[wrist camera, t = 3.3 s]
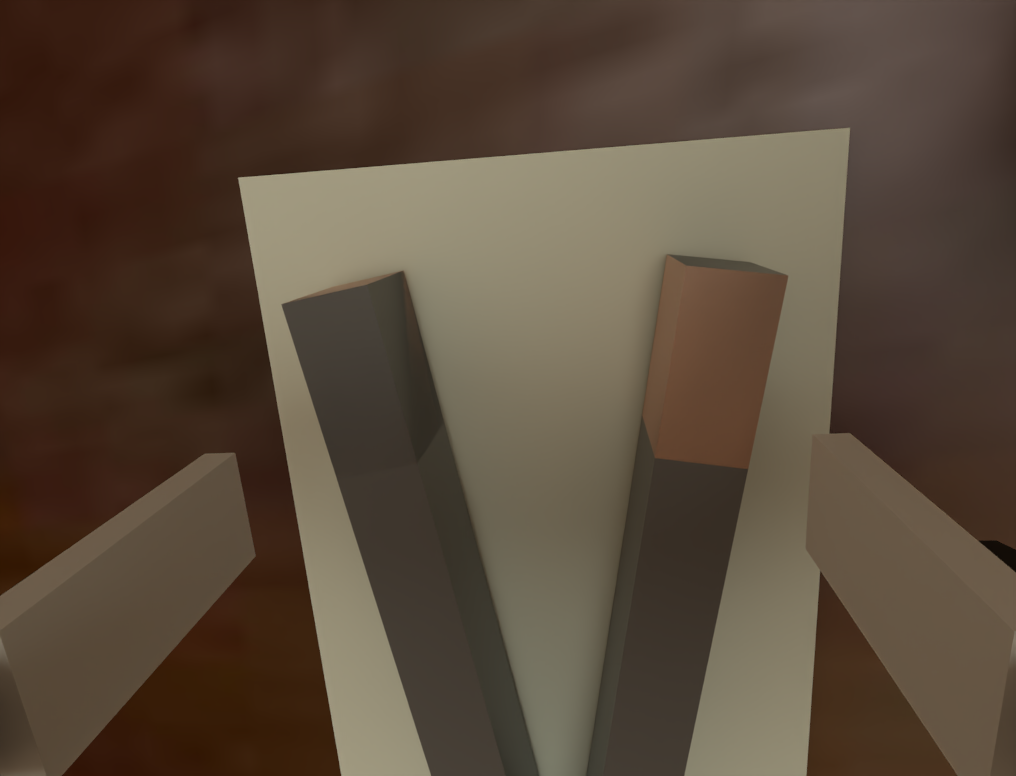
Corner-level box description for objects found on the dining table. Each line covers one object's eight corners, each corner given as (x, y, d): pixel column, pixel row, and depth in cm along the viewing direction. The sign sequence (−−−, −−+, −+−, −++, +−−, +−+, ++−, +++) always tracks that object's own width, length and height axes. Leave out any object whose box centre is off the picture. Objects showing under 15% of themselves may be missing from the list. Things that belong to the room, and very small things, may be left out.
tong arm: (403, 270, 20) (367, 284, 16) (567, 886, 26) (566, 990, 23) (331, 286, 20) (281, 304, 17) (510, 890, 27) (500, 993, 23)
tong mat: (839, 130, 19) (849, 127, 18) (787, 941, 27) (793, 962, 26) (250, 178, 21) (238, 177, 20) (374, 915, 29) (369, 934, 29)
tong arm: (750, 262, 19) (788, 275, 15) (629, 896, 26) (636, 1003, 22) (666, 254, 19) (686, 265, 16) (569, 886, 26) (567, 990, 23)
